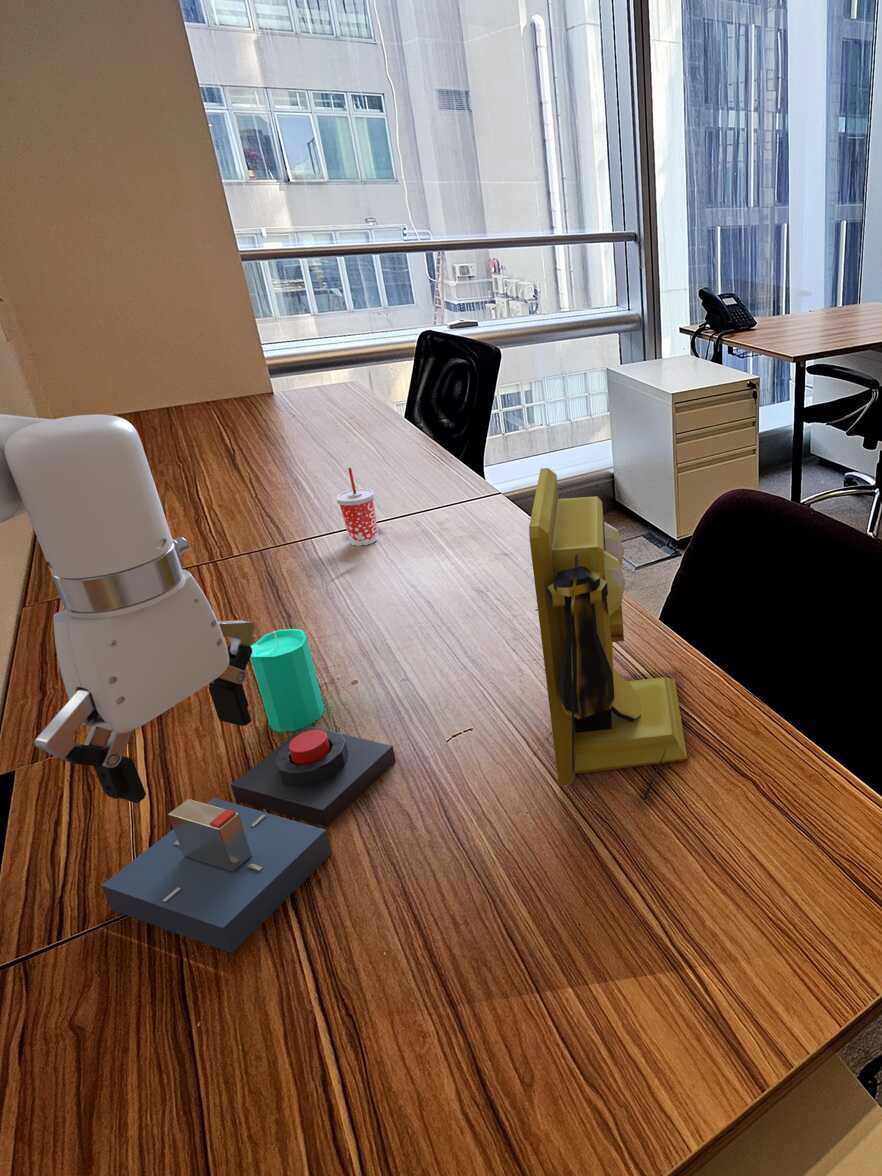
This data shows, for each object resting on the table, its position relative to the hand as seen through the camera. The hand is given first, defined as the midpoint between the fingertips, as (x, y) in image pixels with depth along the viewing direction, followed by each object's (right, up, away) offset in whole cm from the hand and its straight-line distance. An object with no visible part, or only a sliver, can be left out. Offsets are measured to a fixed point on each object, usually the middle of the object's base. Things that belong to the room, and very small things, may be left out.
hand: (185, 756), depth 66 cm
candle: (-6, -5, +28) cm, 29 cm away
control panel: (-1, -13, +6) cm, 15 cm away
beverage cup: (-21, +14, +75) cm, 79 cm away
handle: (-1, -11, +5) cm, 12 cm away
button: (+2, -5, +17) cm, 18 cm away
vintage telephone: (+33, -6, +25) cm, 42 cm away
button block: (+2, -9, +18) cm, 20 cm away
